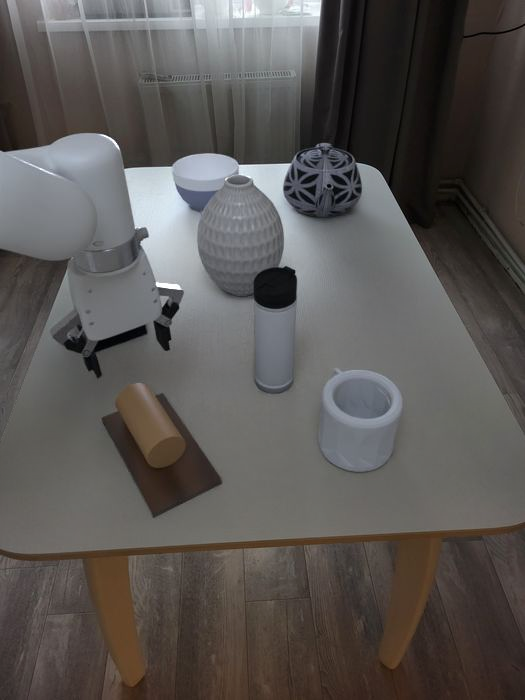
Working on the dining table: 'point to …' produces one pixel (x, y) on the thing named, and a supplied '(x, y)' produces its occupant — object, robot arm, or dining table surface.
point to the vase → (239, 235)
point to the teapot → (323, 181)
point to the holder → (168, 482)
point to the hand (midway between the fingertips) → (130, 358)
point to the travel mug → (274, 328)
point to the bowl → (202, 177)
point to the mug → (359, 419)
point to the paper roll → (150, 425)
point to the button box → (118, 337)
